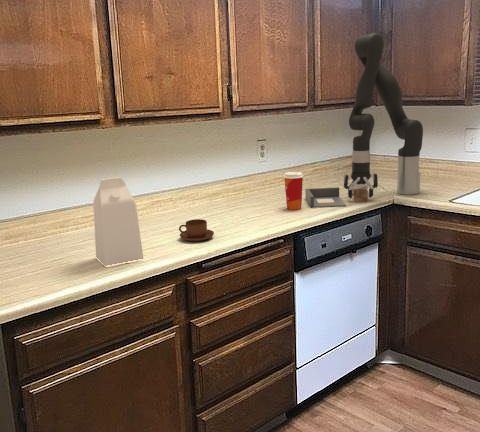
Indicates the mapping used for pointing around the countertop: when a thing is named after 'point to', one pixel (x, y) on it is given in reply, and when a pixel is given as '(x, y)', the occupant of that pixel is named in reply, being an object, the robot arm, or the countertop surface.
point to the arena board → (324, 197)
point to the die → (359, 187)
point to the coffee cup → (293, 190)
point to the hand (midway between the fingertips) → (360, 197)
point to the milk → (116, 223)
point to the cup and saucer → (196, 230)
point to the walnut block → (360, 195)
